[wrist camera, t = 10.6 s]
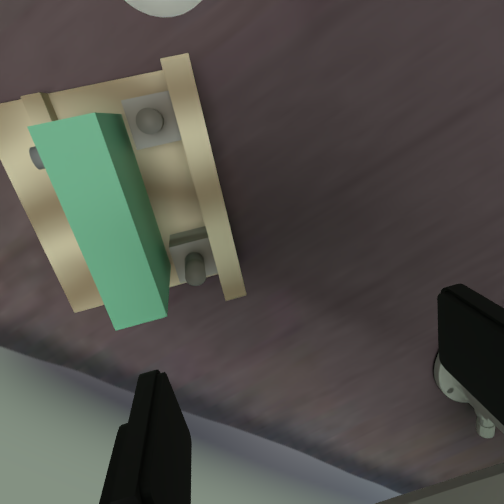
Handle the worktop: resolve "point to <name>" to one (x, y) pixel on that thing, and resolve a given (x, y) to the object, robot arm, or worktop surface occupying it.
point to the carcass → (151, 168)
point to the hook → (163, 6)
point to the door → (107, 212)
